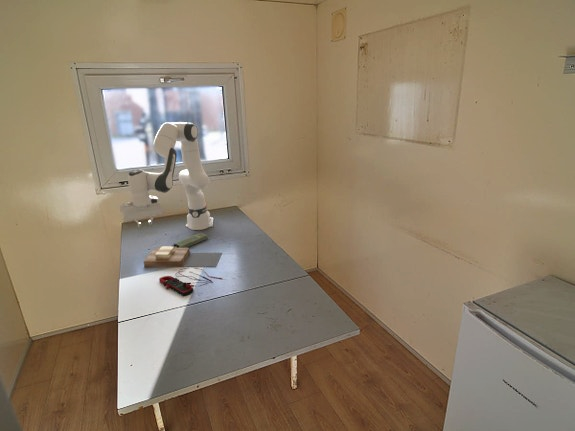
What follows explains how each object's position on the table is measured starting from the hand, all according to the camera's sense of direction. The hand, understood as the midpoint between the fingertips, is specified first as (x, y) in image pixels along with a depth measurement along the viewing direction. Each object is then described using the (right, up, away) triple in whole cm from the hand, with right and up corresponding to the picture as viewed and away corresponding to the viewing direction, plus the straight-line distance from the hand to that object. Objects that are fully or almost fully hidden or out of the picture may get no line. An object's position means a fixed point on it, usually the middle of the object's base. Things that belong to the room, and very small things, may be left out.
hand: (145, 225), depth 184 cm
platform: (+10, -20, +7) cm, 23 cm away
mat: (+29, -20, +7) cm, 36 cm away
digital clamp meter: (+28, -28, -13) cm, 42 cm away
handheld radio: (+13, -10, +27) cm, 31 cm away
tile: (+9, -16, +6) cm, 20 cm away
